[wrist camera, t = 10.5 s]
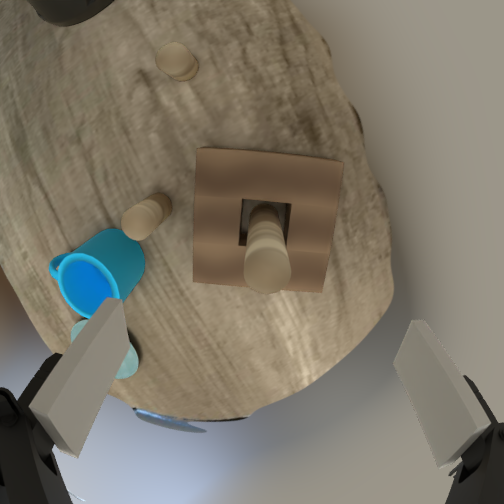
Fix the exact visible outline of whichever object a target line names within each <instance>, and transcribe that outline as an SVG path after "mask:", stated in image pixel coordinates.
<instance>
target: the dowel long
mask: <svg viewBox="0 0 504 504" xmlns="http://www.w3.org/2000/svg"><path fill="white" fill-rule="evenodd" d="M290 278H291V267H290V262H289V258H288V254H287V249H286V245H285V241H284V237H283V232H282V228H281V224H280V220H279V216H278V213H277V211H276V209H275V208H274V207H273V206H271V205H269V204H260V205H257V206H256V207H254V208H253V209H252V211H251V213H250V218H249V227H248V236H247V245H246V254H245V263H244V279H245V281H246V283H247V285H248V286H249V287H250V288H251V289H253V290H254V291H256V292H259V293H262V294H272V293H276V292H278V291H280V290H282V289H283V288H284V287H285V286H286V285H287V284H288V282H289V280H290Z"/></svg>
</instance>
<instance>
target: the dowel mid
mask: <svg viewBox="0 0 504 504" xmlns="http://www.w3.org/2000/svg"><path fill="white" fill-rule="evenodd" d="M171 211H172V204H171V201H170V199H169V198H168V197H167V196H166V195H164V194H161V193H156V194H153V195H151V196H149V197H148V198H146V199H144V200H143V201H141V202H139V203H138V204H136V205H134V206H133V207H131V208H130V209H128V210H127V211H125V213H124V214H123V216H122V219H121V226H122V229H123V231H124V233H125V234H126V235H127V236H128V237H129V238H131V239H133V240H143V239H145V238H146V237H148V236H149V235H150V234H151V233H152V232H153V231H154V230H155V229H156V228H157V227H158V226H159V225H160V224H161V223H162V222H163V221H164V220H165V219H166V218H167V217H168V216H169V215H170V214H171Z"/></svg>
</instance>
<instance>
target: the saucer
mask: <svg viewBox="0 0 504 504" xmlns="http://www.w3.org/2000/svg"><path fill="white" fill-rule="evenodd" d="M88 321H89V320H82V321H79V322H78V323H76V324H75V325H74V327H73V328H72V331H71V342H73V341H74V339H75V338H76V337H77V335H78V334H79V333H80V331H81V330H82V329H83V327H84V326H85V325H86V323H87V322H88ZM129 343H130V341H129ZM138 363H139V361H138V356H137V353H136V351H135V349H134V347H133V346H132V344H131V343H130V349H129V351H128V353H127V355H126V357H125V358H124V360H123V362H122V364H121V366H120V368H119V370H118V372H117V374H116V376H115V378H114V379H123V378H128V377H130V376H132V375H133V374H134V373H135V372H136V370H137V368H138Z"/></svg>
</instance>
